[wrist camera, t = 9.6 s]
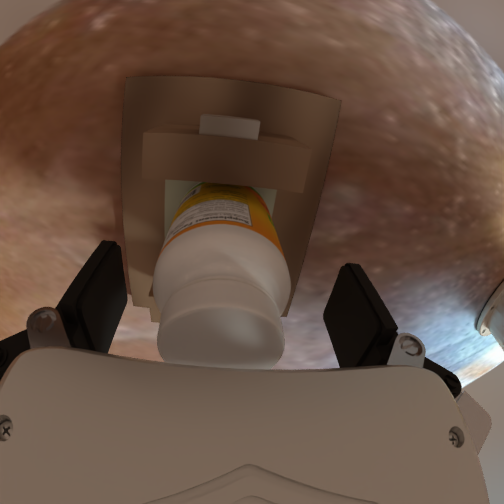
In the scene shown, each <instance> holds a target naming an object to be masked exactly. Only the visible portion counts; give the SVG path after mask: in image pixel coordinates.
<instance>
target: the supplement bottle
mask: <svg viewBox="0 0 504 504" xmlns="http://www.w3.org/2000/svg"><path fill="white" fill-rule="evenodd" d="M290 291H291V282H290V275H289V271H288V266H287V263H286V260H285V257H284V254H283V251H282V248H281V245H280V242H279V239H278V236H277V233H276V230H275V227H274V224H273V221H272V218H271V215H270V212H269V210H268V207H267V205H266V203H265V201H264V199H263V197H262V196H261V194H260V193H259V192H258V191H257V190H256V189H255V188H254V187H249V186H240V185H230V184H219V183H208V182H199V183H198V184H196V185H195V186H193V187H192V188H191V189H190V190H189V191H188V192H187V193H186V194H185V195H184V197H183V198H182V200H181V202H180V204H179V206H178V208H177V211H176V213H175V215H174V218H173V220H172V223H171V226H170V228H169V231H168V233H167V236H166V239H165V241H164V244H163V247H162V249H161V252H160V254H159V257H158V260H157V263H156V266H155V270H154V275H153V295H154V299H155V302H156V305H157V307H158V309H159V311H160V313H161V318H160V325H159V331H158V337H157V345H158V350H159V353H160V355H161V357H162V358H163V360H164V361H165V362H166V363H174V364H183V365H194V366H205V367H218V368H235V369H264V370H270V369H271V368H272V367H273V366H274V365H275V364H276V363H277V362H278V361H279V359H280V358H281V356H282V354H283V351H284V345H285V339H284V333H283V328H282V323H281V319H280V316H281V315H282V313H283V312H284V310H285V308H286V306H287V303H288V300H289V296H290Z"/></svg>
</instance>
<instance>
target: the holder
mask: <svg viewBox="0 0 504 504" xmlns="http://www.w3.org/2000/svg"><path fill="white" fill-rule="evenodd" d="M340 107H341V100H337V99H334V98H330V97H326V96H322V95H318V94H314V93H310V92H306V91H301V90H296V89H291V88H286V87H281V86H275V85H270V84H263V83H257V82H250V81H242V80H233V79H223V78H211V77H194V76H138V77H126V83H125V92H124V104H123V118H122V141H121V188H122V211H123V226H124V238H125V248H126V257H127V266H128V274H129V281H130V288H131V294H132V301H133V306H138V307H147V308H150V315H151V322H158V323H160V318H161V313H160V311H159V309H158V307H157V305H156V302H155V299H154V295H153V275H154V270H155V266H156V263H157V260H158V257H159V254H160V252H161V249H162V247H163V244H164V241H165V239H166V236H167V233H168V231H169V228H170V226H171V223H172V220H173V218H174V215H175V213H176V211H177V208H178V206H179V204H180V202H181V200H182V198H183V197H184V195H185V194H186V193H187V192H188V191H189V190H190V189H191V188H192V187H193V186H195V185H196V184H198V183H199V182H208V183H219V184H230V185H240V186H249V187H254V188H255V189H256V190H257V191H258V192H259V193H260V194H261V196H262V197H263V199H264V201H265V203H266V205H267V207H268V210H269V212H270V215H271V218H272V221H273V224H274V227H275V230H276V233H277V236H278V239H279V242H280V245H281V248H282V251H283V254H284V257H285V260H286V263H287V266H288V271H289V275H290V282H291V291H290V296H289V300H288V303H287V306H286V308H285V310H284V312H283V313H282V315H281V316H280V317H287V314H288V311H289V308H290V305H291V301H292V298H293V295H294V292H295V288H296V285H297V282H298V278H299V275H300V271H301V268H302V264H303V261H304V257H305V254H306V250H307V247H308V243H309V239H310V236H311V232H312V228H313V224H314V221H315V217H316V213H317V209H318V205H319V201H320V197H321V193H322V189H323V185H324V181H325V176H326V172H327V168H328V163H329V159H330V155H331V150H332V146H333V141H334V136H335V132H336V127H337V122H338V117H339V112H340Z"/></svg>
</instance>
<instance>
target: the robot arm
mask: <svg viewBox="0 0 504 504" xmlns="http://www.w3.org/2000/svg"><path fill="white" fill-rule="evenodd" d="M126 304H127V291H126V284H125V278H124V271H123V263H122V255H121V247H120V246H119V245H117V243H116V242H115V241H106V240H103V241H102V242H101V243H100V244H99V246H98V247H97V248H96V250H95V251H94V252H93V254H92V255H91V256H90V258H89V259H88V260H87V262H86V263H85V265H84V266H83V267H82V269H81V270H80V272H79V273H78V274H77V276H76V277H75V279H74V280H73V282H72V283H71V285H70V286H69V288H68V289H67V291H66V292H65V294H64V295H63V297H62V299H61V300H60V302H59V303H58V305H57V307H56V308H52V307H42V308H39V309H37V310H35V311H34V312H33V313H31V315H30V316H29V317H28V320H27V324H26V327H27V329H26V330H24V331H22V332H19V333H17V334H15V335H13V336H10V337H8V338H6V339H4V340H1V341H0V504H490V503H489V498H488V493H487V488H486V484H485V480H484V476H483V472H482V468H481V465H480V461H479V458H478V454H479V452H480V450H481V448H482V445H483V444H484V442H485V440H486V437H487V435H488V433H489V431H490V429H491V425H492V423H491V418H490V416H489V414H488V413H487V412H486V411H485V410H484V409H483V408H482V407H481V406H480V405H479V404H478V403H477V402H476V401H475V400H474V399H473V398H472V397H471V396H470V395H469V394H468V393H467V392H466V391H464V392H463V393H462V392H461V383H460V381H459V379H458V377H457V376H456V375H455V374H453V373H452V372H450V371H448V370H447V369H445V368H443V367H442V366H440V365H438V364H436V363H435V362H433V361H431V360H429V359H428V358H426V357H425V353H426V351H425V346H424V344H423V343H422V341H421V340H420V339H419V338H417V337H416V336H414V335H412V334H410V333H401V334H399V335H398V333H397V332H396V331H397V329H398V327H397V325H396V323H395V321H394V320H393V318H392V316H391V314H390V313H389V311H388V309H387V308H386V306H385V304H384V303H383V301H382V299H381V298H380V296H379V294H378V293H377V291H376V289H375V288H374V286H373V285H372V283H371V281H370V280H369V278H368V277H367V275H366V274H365V272H364V270H363V269H362V267H361V266H360V265H359V264H353V263H346V264H345V266H342V267H341V269H340V271H339V274H338V277H337V280H336V282H335V285H334V287H333V290H332V293H331V295H330V298H329V300H328V303H327V305H326V308H325V310H324V314H323V319H324V322H325V325H326V328H327V330H328V333H329V336H330V339H331V342H332V345H333V348H334V351H335V354H336V357H337V360H338V363H339V366H340V368H331V369H302V370H264V369H235V368H218V367H205V366H194V365H183V364H174V363H166V362H158V361H151V360H144V359H138V358H131V357H125V356H119V355H113V354H108V351H109V348H110V345H111V343H112V340H113V337H114V335H115V332H116V329H117V327H118V324H119V321H120V319H121V316H122V314H123V311H124V309H125V307H126ZM477 330H478V332H479V333H480V335H482V336H487V335H490V334H492V335H493V336H494V338H495V339H496V341H497V342H498V343H499V345H500V346H501V348H502V349H503V351H504V281H503V282H502V283H501V285H500V286H499V287H498V288H497V290H496V291H495V292H494V294H493V295H492V296H491V298H490V299H489V301H488V303H487V304H486V306H485V308H484V309H483V311H482V313H481V315H480V317H479V320H478V324H477Z"/></svg>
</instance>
